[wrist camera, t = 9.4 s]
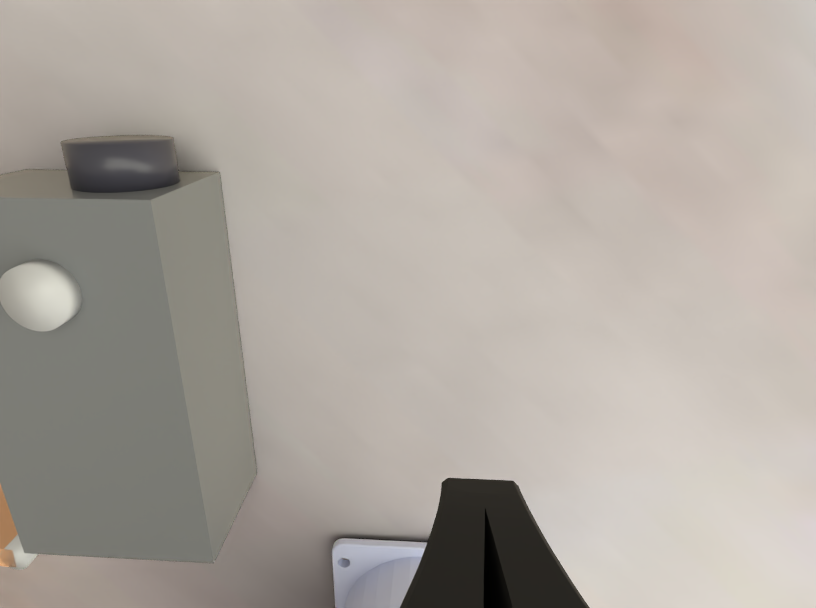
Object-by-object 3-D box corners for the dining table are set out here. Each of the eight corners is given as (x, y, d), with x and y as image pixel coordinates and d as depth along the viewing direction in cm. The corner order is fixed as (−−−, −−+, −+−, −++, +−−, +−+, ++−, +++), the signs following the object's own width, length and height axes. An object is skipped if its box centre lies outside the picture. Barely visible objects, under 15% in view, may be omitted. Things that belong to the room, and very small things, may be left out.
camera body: (256, 472, 22) (206, 578, 17) (101, 466, 22) (11, 567, 18) (214, 133, 17) (128, 152, 12) (16, 131, 18) (-141, 149, 13)
